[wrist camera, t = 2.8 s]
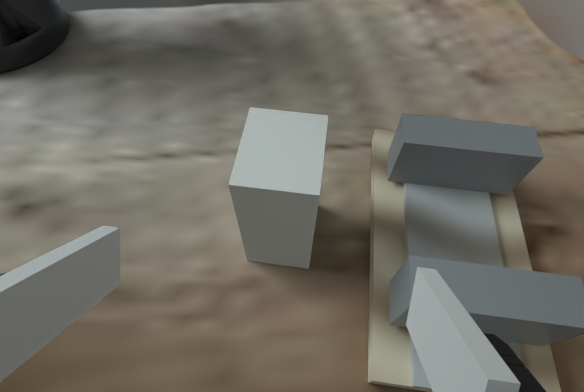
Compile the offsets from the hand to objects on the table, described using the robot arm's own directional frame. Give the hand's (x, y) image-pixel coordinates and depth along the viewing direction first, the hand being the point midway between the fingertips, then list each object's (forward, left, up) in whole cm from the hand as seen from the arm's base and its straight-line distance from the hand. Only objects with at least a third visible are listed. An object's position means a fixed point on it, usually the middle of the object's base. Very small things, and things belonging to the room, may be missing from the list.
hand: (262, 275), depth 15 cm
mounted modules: (-5, +15, -10) cm, 19 cm away
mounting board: (-5, +15, -12) cm, 20 cm away
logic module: (-8, +2, -12) cm, 15 cm away
